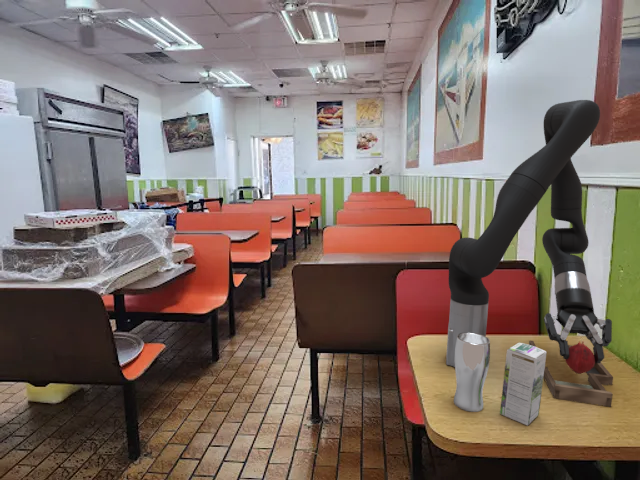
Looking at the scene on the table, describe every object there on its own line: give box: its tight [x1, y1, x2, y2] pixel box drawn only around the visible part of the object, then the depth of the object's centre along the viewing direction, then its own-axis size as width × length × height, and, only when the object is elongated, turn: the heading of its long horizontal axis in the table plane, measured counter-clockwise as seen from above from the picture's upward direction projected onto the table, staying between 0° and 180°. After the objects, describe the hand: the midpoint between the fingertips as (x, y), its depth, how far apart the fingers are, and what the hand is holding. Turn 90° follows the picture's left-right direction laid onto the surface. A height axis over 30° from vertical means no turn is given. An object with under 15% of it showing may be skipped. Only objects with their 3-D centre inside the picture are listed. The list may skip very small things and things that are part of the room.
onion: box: [564, 339, 595, 375], centre depth 93 cm, size 6×6×8 cm
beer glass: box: [453, 333, 491, 413], centre depth 87 cm, size 7×7×15 cm
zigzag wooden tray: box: [528, 340, 614, 408], centre depth 103 cm, size 19×30×3 cm, turn 163°
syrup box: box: [499, 342, 547, 427], centre depth 83 cm, size 6×6×14 cm
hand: (582, 359), depth 91 cm, fingers closed on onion, 5 cm apart
